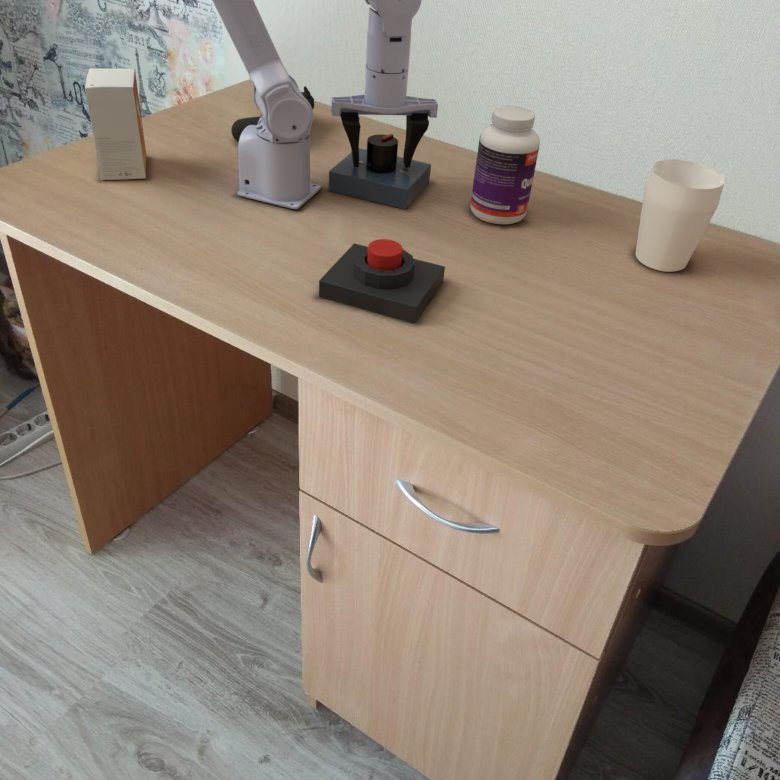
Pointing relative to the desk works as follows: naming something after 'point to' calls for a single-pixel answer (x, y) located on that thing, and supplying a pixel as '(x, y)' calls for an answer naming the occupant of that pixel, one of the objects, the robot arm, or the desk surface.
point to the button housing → (382, 284)
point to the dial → (381, 153)
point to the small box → (116, 123)
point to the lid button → (384, 254)
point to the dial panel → (380, 181)
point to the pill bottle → (505, 166)
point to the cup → (676, 212)
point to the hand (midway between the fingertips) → (381, 164)
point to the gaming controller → (243, 123)
